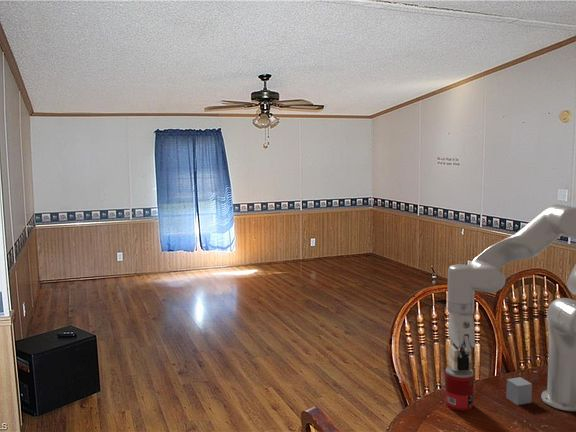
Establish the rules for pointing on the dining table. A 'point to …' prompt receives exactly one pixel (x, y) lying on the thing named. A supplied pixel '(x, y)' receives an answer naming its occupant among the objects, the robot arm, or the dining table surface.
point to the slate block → (519, 391)
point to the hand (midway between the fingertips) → (459, 365)
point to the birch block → (456, 357)
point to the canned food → (459, 389)
